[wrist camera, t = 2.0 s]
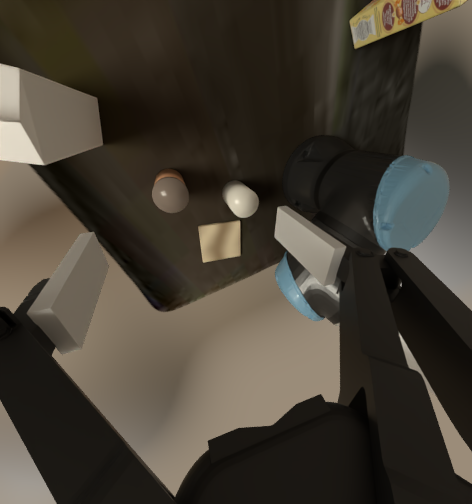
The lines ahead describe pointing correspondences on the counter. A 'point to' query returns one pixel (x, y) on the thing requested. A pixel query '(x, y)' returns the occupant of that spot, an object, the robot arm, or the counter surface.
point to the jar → (170, 191)
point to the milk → (44, 119)
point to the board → (220, 240)
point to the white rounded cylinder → (240, 199)
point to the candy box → (394, 17)
